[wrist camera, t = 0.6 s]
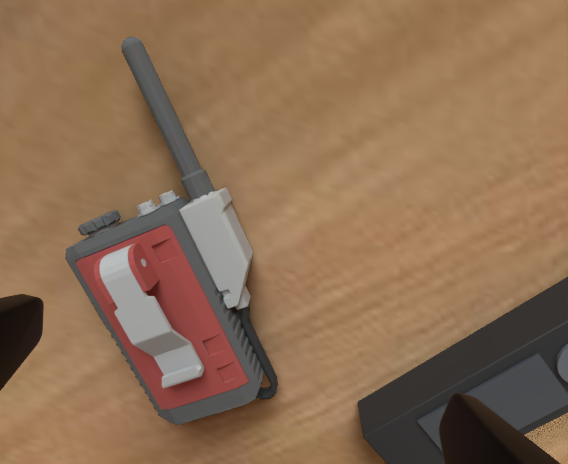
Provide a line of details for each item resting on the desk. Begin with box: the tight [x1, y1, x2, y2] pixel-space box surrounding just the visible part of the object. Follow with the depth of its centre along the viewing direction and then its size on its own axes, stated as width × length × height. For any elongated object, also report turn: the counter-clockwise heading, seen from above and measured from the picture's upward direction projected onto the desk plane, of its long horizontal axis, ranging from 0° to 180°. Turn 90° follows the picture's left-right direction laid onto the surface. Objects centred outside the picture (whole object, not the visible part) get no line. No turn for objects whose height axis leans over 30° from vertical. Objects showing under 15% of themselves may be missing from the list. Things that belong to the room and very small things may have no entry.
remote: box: [358, 277, 568, 464], centre depth 21 cm, size 18×5×3 cm, turn 129°
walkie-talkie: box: [65, 37, 278, 425], centre depth 20 cm, size 9×4×20 cm
